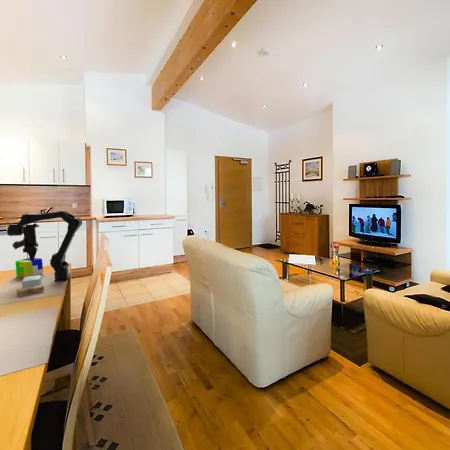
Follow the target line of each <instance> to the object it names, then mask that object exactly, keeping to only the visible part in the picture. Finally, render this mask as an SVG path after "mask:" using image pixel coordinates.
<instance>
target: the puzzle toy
mask: <svg viewBox="0 0 450 450" xmlns="http://www.w3.org/2000/svg"><path fill="white" fill-rule="evenodd" d="M15 270H16V271H15V272H16V277H17V278H24V277H30V276H38V275H43V274H44V267H43V259H42V258H40V257H39V258H38V257H35V258H34V261H32V262H31V260H30V257H28V258H23V259H19V260H15Z"/></svg>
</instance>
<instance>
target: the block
mask: <svg viewBox="0 0 450 450" xmlns="http://www.w3.org/2000/svg"><path fill="white" fill-rule="evenodd" d="M42 278H43V277H42V274H40V275H37V276H30V277H23V279H22V280H21V286H22V288H27V287H32V286H37V285H43V284H42V283H43V281H42Z"/></svg>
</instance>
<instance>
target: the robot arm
mask: <svg viewBox="0 0 450 450" xmlns="http://www.w3.org/2000/svg"><path fill="white" fill-rule="evenodd" d="M59 218H61V219H62V220H63V221H64V222H66V224H67V231H66V234H65V236H64V238H63V241H62V242H61V245H60V246H59V249H58V251H57V252H55V253H53V254H52V255H51V259H50V260H49V262H50V263H49V264H50V266H51V268H53V271H54V273H53V274H54V281H55V282H59V281H60V282H61V281H67V280H68V279H70V278H71V276H69V275H70V274H69V266H70V264H69V262H68V261H66V257H67V256H66V255H67V252H68V249H69V247H70V245H71V243H72V241H73V239H74V237H75V234H76V233H77V232H78V230H79V229H80V228H81V226H82V225H83V220H82V219H81V217H79V216H78V217H77V216H75V215H73V214H71V213H70V212H68V211H66V210H60V211H53V212H46V213H24V214H22V215H21V217H20V220H19V221H18V223H15V224H14V223H10V224H8V227H7V230H6V233H7V235H8V236H9V237H13V236H14V237H17V236H22V235H23V238H22V239H21V240H19V241H18V240H17V241H14V242H13V243H12V245H11V246H12V248H14V250H17V249H18V248H19V249H20V248H22V247H23V248H22V253H26V254H28V258H30V260H31V262H32V261H34V258H36V255H37V251H38V247H39V242H37V233H36V228H38V227H40V225H39V224H37V223H36V222H39V221H45V220H53V219H59Z"/></svg>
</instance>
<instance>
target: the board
mask: <svg viewBox="0 0 450 450" xmlns="http://www.w3.org/2000/svg"><path fill="white" fill-rule="evenodd" d="M43 291H44V292H45V288H44V285H43V284H41V285H37V286H32V287H27V288H23V287H22V288H21V287H20V288H17V289H16V295H17V297H19V298H20V297H24V296H29V295H34V294H38V293H39V294H40V293H42V292H43Z"/></svg>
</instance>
